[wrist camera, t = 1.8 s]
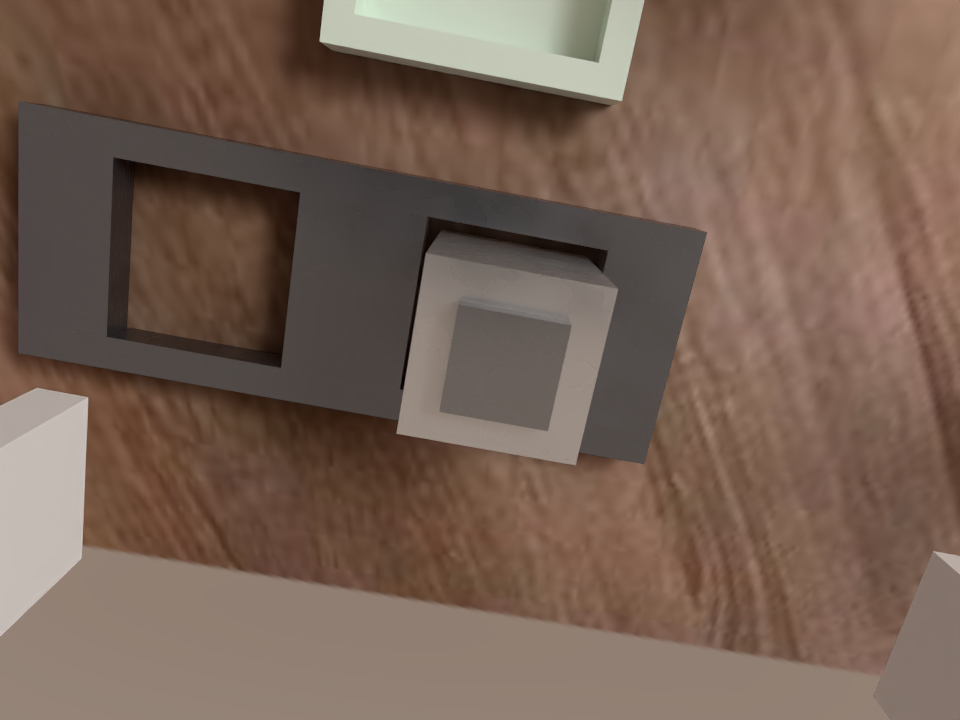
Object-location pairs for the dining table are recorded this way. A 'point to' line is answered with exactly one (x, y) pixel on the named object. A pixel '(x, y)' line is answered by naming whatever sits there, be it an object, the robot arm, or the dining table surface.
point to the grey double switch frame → (318, 271)
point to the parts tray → (497, 40)
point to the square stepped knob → (505, 347)
